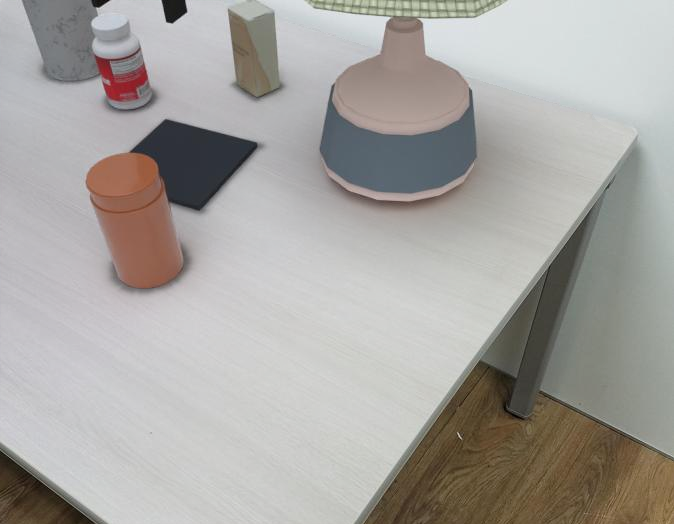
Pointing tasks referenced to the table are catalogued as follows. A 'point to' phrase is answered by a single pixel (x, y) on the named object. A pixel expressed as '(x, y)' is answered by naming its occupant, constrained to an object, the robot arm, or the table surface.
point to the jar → (135, 219)
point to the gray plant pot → (64, 36)
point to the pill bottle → (120, 62)
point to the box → (254, 46)
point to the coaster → (193, 160)
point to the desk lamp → (401, 108)
